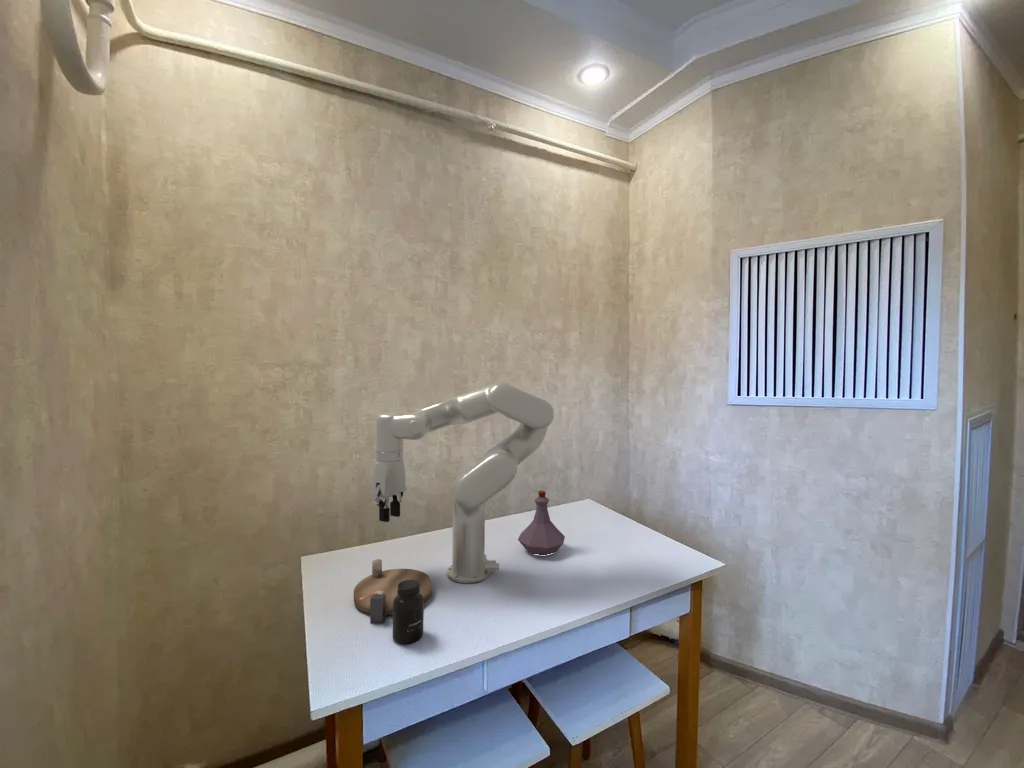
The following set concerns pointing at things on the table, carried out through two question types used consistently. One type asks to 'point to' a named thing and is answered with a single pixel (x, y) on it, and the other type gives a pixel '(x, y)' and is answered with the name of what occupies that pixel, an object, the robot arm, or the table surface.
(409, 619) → the supplement bottle
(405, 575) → the disc
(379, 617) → the index pointer
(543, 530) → the flask
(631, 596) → the table surface
